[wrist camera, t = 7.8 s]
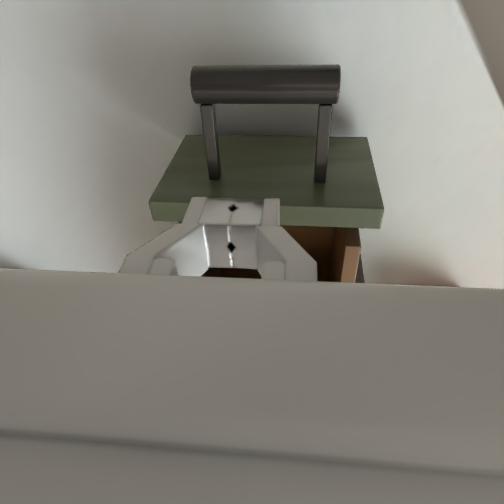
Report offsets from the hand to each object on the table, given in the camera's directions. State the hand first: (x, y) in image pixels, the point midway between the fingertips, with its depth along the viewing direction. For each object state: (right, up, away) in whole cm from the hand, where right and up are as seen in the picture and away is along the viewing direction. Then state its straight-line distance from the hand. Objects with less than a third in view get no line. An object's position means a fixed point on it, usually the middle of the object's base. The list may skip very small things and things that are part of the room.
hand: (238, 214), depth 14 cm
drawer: (+2, +3, +14) cm, 14 cm away
